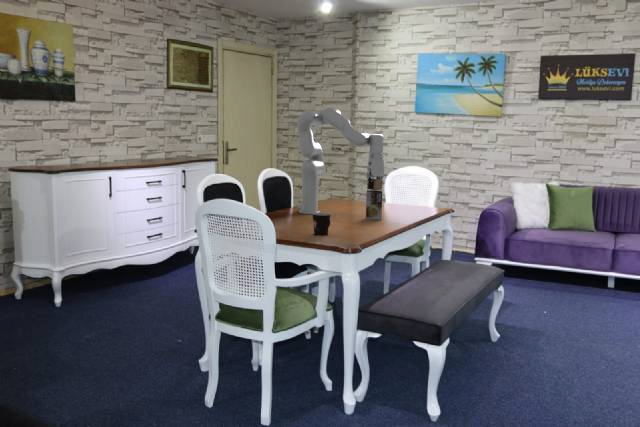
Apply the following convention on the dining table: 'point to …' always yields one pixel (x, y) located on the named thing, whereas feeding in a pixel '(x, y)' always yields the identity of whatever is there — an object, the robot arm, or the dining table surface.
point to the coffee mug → (321, 223)
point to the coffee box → (374, 204)
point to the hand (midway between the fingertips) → (374, 187)
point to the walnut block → (376, 184)
